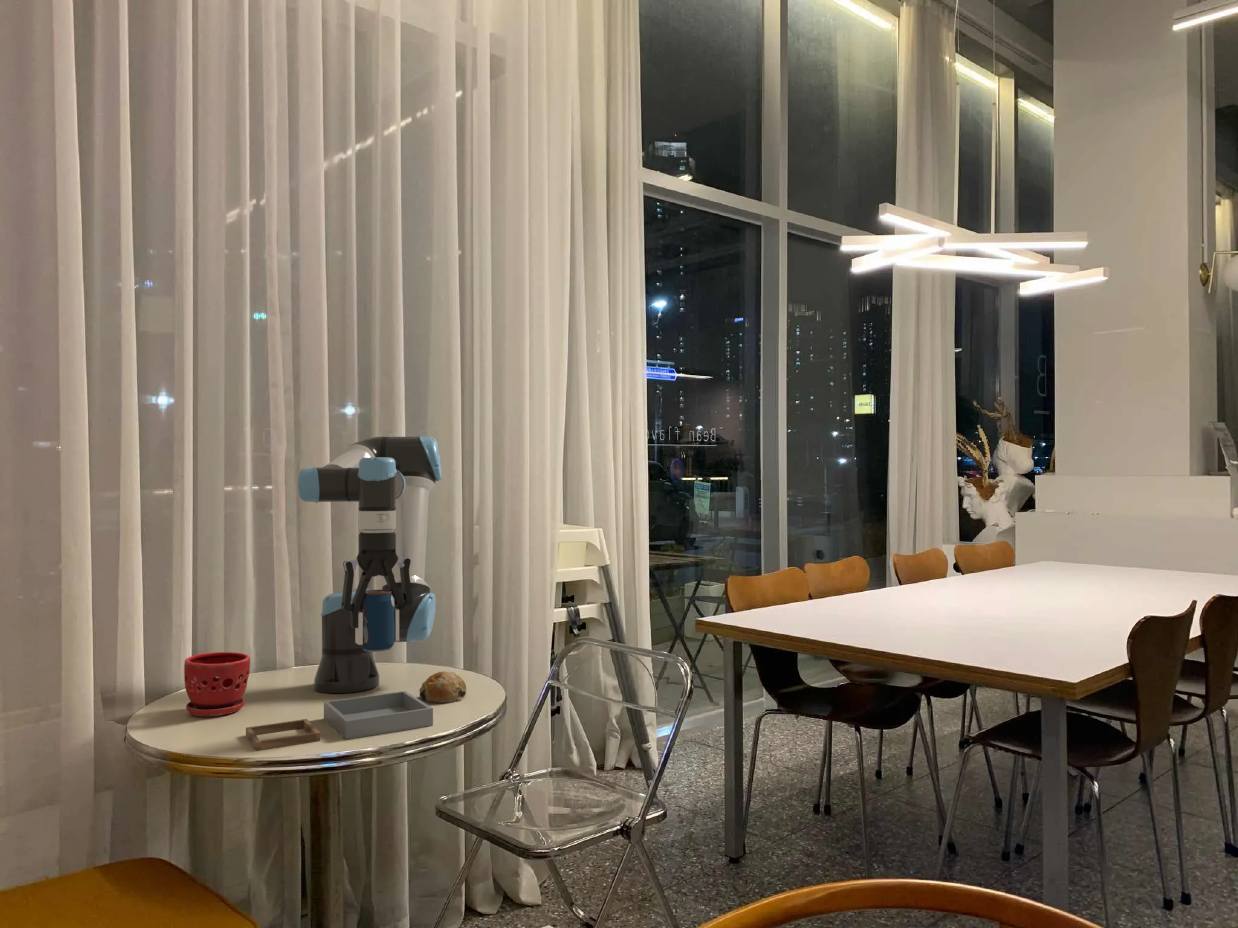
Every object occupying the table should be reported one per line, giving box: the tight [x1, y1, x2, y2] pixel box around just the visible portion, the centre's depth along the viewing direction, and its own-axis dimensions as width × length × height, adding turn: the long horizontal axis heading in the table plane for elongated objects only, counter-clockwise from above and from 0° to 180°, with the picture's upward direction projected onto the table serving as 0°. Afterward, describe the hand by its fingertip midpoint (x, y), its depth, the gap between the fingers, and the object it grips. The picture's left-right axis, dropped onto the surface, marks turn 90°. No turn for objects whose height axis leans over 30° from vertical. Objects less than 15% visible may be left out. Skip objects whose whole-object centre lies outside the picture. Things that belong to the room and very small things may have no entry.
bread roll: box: [418, 670, 467, 704], centre depth 203 cm, size 10×10×8 cm
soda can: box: [360, 589, 396, 653], centre depth 184 cm, size 7×7×12 cm
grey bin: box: [323, 690, 434, 740], centre depth 184 cm, size 18×18×4 cm
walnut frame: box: [245, 718, 321, 751], centre depth 173 cm, size 12×12×2 cm
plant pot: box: [183, 651, 251, 718], centre depth 192 cm, size 13×13×12 cm
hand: (377, 641), depth 184 cm, fingers closed on soda can, 7 cm apart
